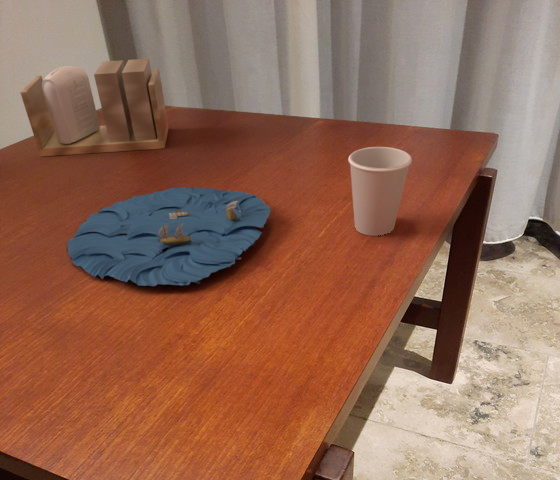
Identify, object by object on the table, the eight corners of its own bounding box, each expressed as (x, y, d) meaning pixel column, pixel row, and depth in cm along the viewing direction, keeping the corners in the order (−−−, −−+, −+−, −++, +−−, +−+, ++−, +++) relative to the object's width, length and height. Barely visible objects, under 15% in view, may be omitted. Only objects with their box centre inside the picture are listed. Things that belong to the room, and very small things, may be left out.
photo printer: (86, 127, 115) (69, 60, 107) (103, 129, 114) (88, 61, 106) (54, 143, 108) (33, 73, 100) (72, 145, 107) (52, 75, 99)
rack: (40, 156, 107) (16, 80, 98) (54, 136, 116) (33, 64, 107) (164, 148, 108) (151, 71, 99) (168, 128, 117) (157, 57, 108)
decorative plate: (69, 321, 67) (54, 285, 63) (71, 215, 89) (60, 183, 85) (302, 271, 71) (300, 235, 68) (249, 181, 93) (246, 150, 90)
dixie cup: (335, 232, 79) (337, 162, 73) (359, 209, 84) (363, 142, 78) (390, 245, 76) (398, 173, 69) (412, 220, 81) (421, 151, 74)
